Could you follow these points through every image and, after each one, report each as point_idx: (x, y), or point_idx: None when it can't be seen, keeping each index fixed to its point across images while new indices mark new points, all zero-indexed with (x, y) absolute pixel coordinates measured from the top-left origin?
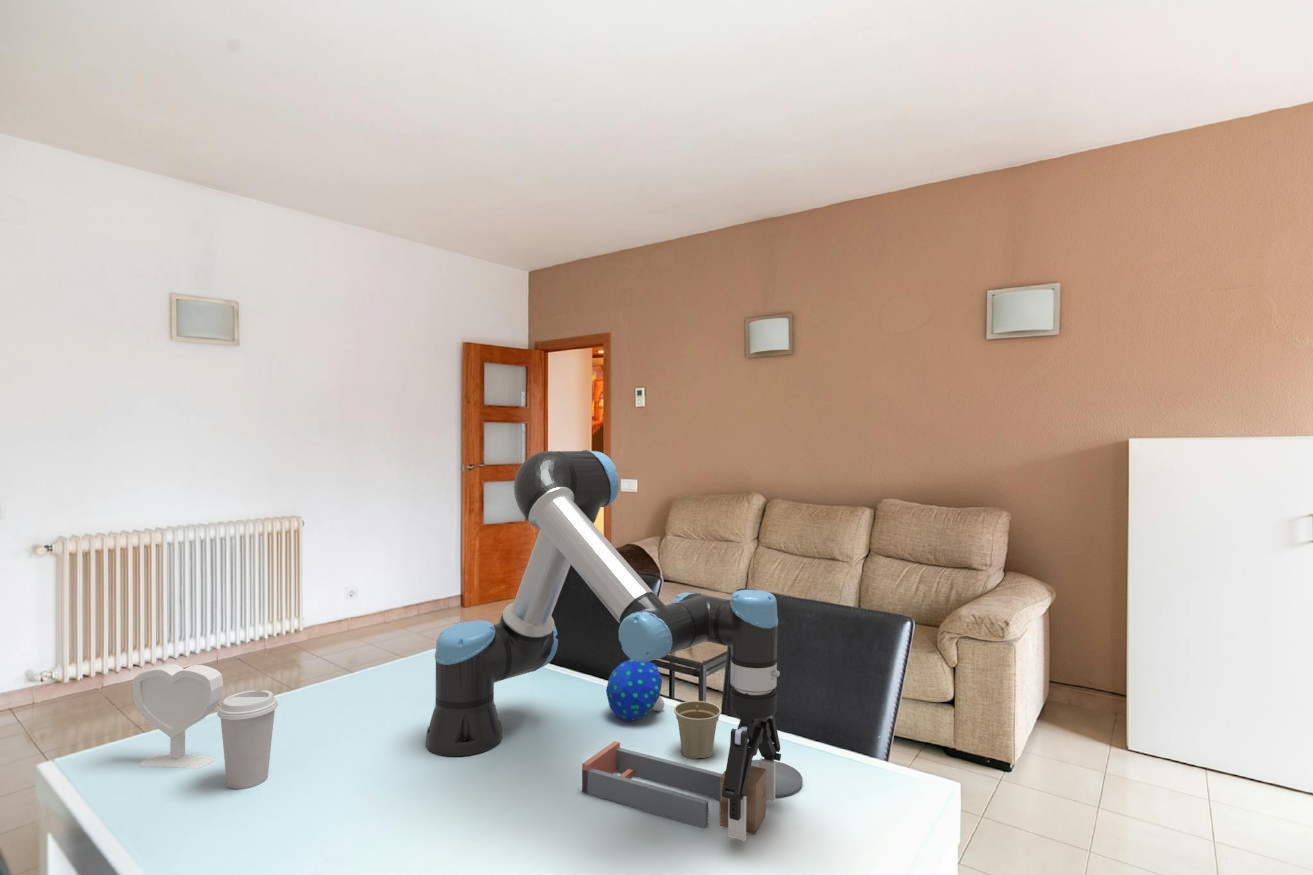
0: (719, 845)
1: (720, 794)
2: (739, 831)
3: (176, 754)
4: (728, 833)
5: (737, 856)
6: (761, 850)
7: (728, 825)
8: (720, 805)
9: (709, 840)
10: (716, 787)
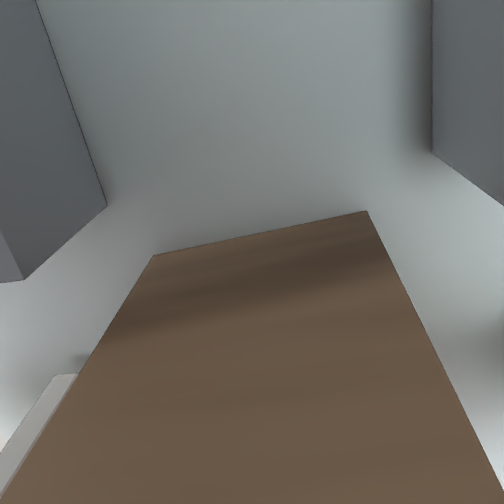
0: (23, 335)
1: (72, 390)
2: None
3: None
4: (48, 386)
5: None
6: None
7: (24, 420)
8: (111, 329)
9: (11, 283)
10: (468, 50)
